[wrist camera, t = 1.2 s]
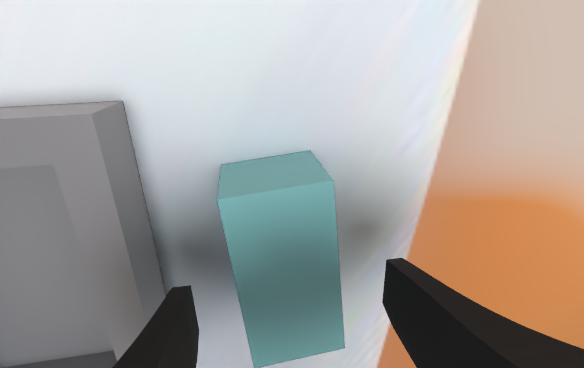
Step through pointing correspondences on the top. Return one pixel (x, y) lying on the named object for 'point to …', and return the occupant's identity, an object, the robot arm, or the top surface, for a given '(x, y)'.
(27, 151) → the socket block
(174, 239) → the top surface
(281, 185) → the peg
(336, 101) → the top surface
